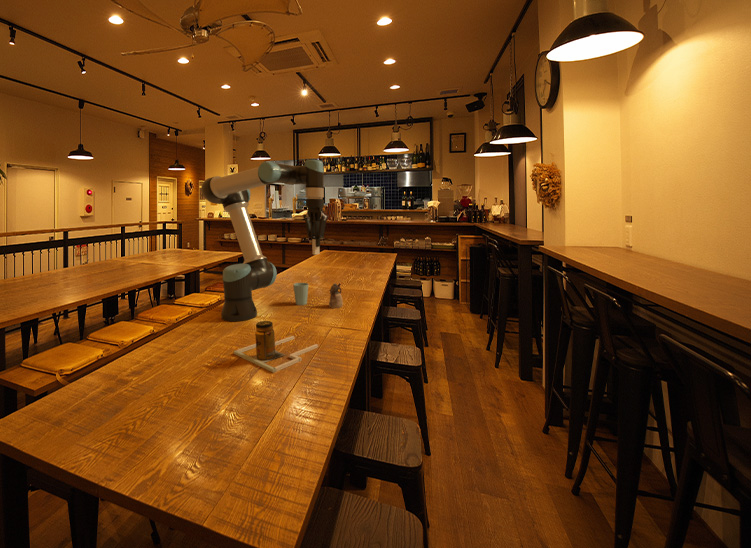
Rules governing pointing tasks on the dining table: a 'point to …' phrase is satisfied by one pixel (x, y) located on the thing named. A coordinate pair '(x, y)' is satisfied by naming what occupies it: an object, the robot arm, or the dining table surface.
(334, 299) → the figurine
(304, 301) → the cup
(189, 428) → the dining table surface
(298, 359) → the t outline
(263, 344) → the condiment
